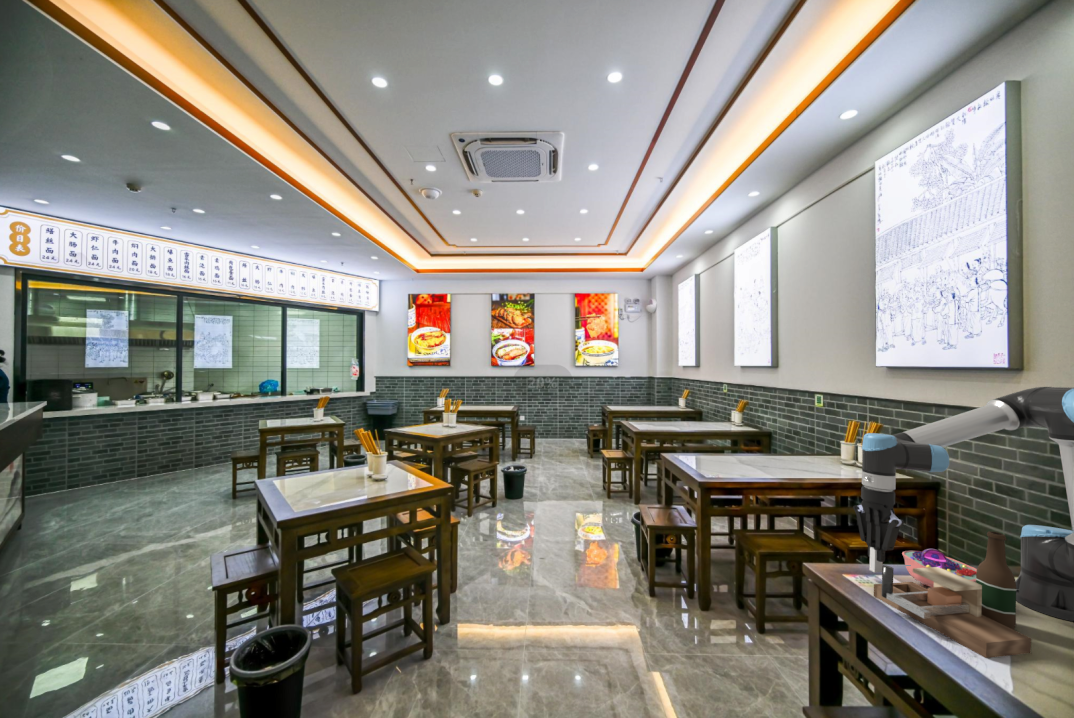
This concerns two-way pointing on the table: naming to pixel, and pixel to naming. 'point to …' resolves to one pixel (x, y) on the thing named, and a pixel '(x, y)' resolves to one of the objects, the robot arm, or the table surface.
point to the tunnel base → (965, 627)
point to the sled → (916, 599)
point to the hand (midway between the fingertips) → (875, 570)
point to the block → (942, 596)
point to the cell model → (936, 565)
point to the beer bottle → (997, 583)
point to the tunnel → (955, 586)
